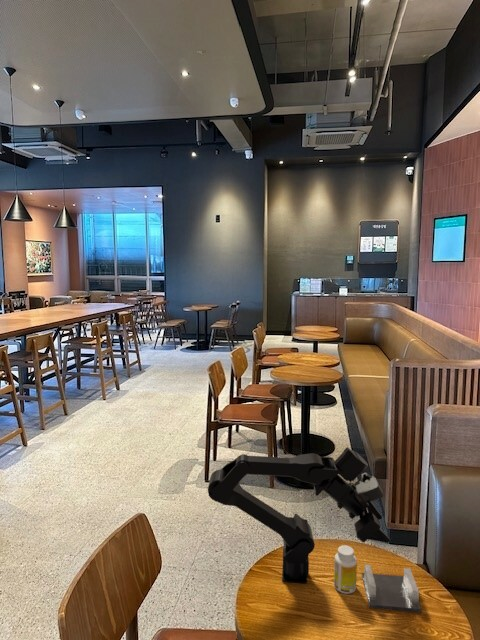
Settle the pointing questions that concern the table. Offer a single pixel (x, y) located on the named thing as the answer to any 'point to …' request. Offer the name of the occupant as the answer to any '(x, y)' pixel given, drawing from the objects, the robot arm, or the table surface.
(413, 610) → the grey u-shaped holder
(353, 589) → the supplement bottle
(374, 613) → the table surface
